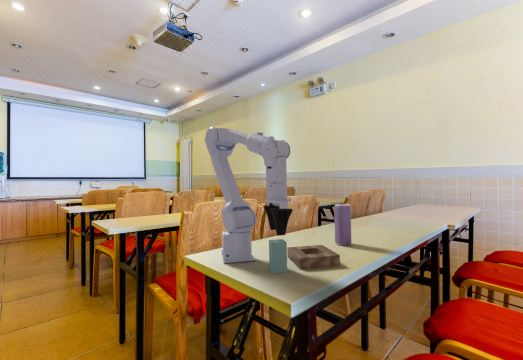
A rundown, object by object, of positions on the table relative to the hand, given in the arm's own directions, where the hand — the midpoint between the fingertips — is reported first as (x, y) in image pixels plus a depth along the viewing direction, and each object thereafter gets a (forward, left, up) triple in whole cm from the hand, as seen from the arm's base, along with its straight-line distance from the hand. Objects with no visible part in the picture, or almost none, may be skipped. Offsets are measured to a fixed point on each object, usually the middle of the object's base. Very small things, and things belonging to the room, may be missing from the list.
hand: (277, 232), depth 71 cm
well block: (+12, +5, -10) cm, 17 cm away
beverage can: (+31, +21, -11) cm, 39 cm away
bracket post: (0, 0, -10) cm, 10 cm away
